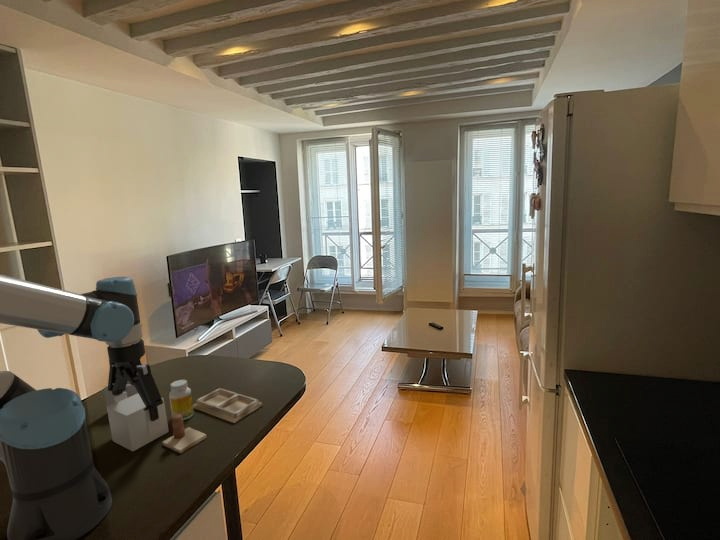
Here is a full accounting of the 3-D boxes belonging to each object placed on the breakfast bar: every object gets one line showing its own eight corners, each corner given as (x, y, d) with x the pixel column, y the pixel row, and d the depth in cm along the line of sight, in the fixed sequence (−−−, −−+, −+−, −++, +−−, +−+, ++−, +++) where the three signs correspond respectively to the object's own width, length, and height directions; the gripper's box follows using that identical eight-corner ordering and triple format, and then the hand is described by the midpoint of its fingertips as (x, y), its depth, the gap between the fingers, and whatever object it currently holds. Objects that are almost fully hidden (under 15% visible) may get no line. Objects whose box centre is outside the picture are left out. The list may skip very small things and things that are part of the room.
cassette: (154, 406, 113) (150, 381, 112) (151, 410, 111) (147, 384, 110) (110, 411, 112) (105, 385, 111) (106, 414, 110) (102, 388, 109)
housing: (132, 451, 92) (126, 415, 91) (112, 441, 97) (106, 406, 95) (168, 431, 100) (163, 398, 98) (148, 422, 104) (143, 390, 103)
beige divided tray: (234, 423, 102) (233, 416, 101) (193, 408, 111) (192, 401, 111) (262, 405, 110) (262, 398, 110) (222, 392, 119) (221, 386, 119)
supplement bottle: (170, 416, 107) (165, 382, 106) (190, 408, 111) (186, 376, 109) (175, 424, 103) (170, 389, 101) (196, 416, 106) (192, 382, 105)
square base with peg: (180, 453, 90) (177, 430, 89) (162, 445, 94) (159, 422, 93) (206, 437, 96) (203, 415, 95) (189, 430, 100) (186, 408, 99)
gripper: (171, 344, 91) (183, 429, 94) (114, 330, 104) (127, 406, 107) (138, 356, 84) (152, 447, 88) (82, 339, 98) (97, 419, 101)
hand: (138, 424), depth 98 cm, fingers open, 13 cm apart
